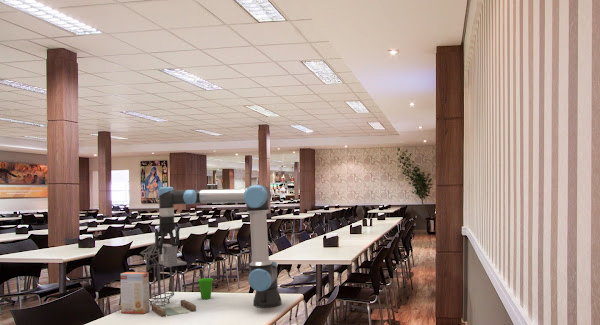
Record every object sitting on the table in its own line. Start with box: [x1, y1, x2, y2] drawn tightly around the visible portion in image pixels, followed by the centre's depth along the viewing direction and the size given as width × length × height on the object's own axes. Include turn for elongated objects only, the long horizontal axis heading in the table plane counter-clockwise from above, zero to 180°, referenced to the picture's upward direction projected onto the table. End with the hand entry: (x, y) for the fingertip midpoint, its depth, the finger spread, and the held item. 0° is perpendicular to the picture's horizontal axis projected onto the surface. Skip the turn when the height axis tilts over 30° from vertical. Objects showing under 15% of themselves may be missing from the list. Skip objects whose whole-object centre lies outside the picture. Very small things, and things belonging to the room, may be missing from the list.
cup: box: [197, 277, 214, 301], centre depth 299 cm, size 9×9×11 cm
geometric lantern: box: [139, 241, 175, 307], centre depth 289 cm, size 16×16×35 cm
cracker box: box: [120, 271, 150, 315], centre depth 271 cm, size 14×6×21 cm, turn 71°
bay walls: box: [151, 299, 197, 318], centre depth 271 cm, size 18×18×3 cm
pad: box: [162, 304, 191, 317], centre depth 271 cm, size 18×12×1 cm, turn 32°
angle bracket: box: [157, 243, 188, 268], centre depth 272 cm, size 16×10×10 cm, turn 32°
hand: (167, 260), depth 271 cm, fingers closed on angle bracket, 5 cm apart
